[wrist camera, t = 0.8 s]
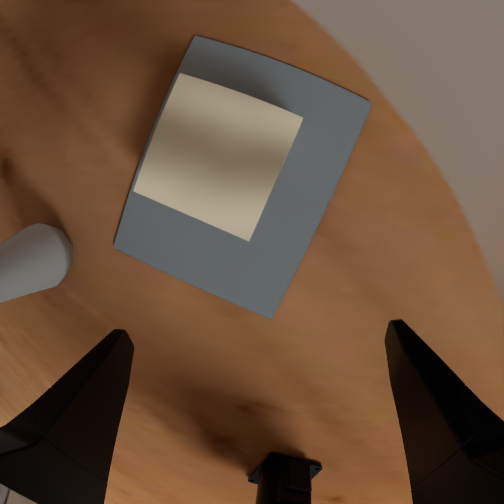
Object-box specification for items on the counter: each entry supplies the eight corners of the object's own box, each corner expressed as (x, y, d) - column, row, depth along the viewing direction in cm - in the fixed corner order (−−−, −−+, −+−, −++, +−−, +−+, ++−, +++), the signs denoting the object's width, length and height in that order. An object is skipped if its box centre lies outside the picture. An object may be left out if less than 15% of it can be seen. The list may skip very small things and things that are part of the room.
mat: (271, 317, 25) (271, 319, 25) (115, 246, 25) (113, 247, 25) (371, 103, 20) (372, 103, 20) (196, 36, 20) (194, 35, 20)
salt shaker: (29, 253, 26) (-69, 299, 14) (48, 206, 25) (-65, 238, 12) (67, 291, 27) (-28, 357, 14) (89, 245, 25) (-21, 301, 13)
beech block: (254, 229, 23) (248, 241, 19) (156, 186, 23) (133, 191, 19) (300, 126, 21) (303, 117, 17) (196, 87, 21) (179, 72, 17)
